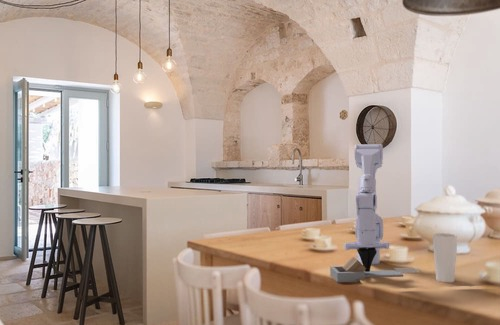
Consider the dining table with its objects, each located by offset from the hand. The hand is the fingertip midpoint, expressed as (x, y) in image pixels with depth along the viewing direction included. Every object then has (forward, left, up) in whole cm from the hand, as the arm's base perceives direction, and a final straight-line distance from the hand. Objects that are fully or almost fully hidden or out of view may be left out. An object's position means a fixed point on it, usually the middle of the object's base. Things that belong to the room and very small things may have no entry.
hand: (366, 271), depth 155 cm
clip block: (0, -3, 0) cm, 3 cm away
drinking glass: (+9, +22, -2) cm, 24 cm away
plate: (-5, +16, -2) cm, 16 cm away
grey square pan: (0, 0, -2) cm, 2 cm away
